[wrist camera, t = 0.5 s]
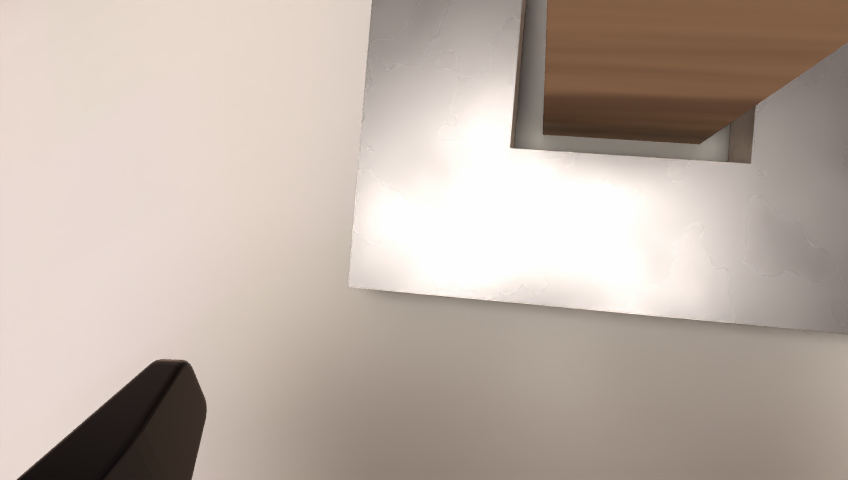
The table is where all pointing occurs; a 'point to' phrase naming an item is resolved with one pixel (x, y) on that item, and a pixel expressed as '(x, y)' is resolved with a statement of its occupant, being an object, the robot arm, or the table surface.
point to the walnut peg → (676, 62)
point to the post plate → (589, 190)
